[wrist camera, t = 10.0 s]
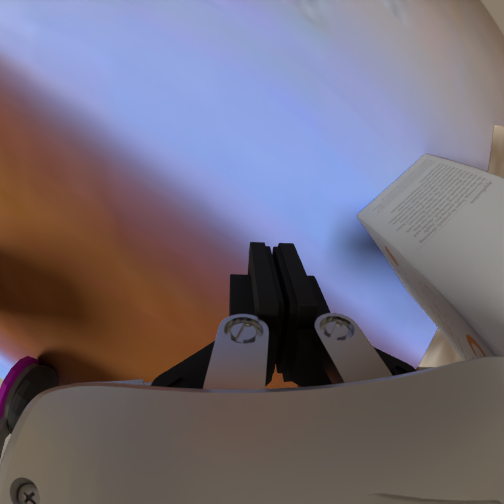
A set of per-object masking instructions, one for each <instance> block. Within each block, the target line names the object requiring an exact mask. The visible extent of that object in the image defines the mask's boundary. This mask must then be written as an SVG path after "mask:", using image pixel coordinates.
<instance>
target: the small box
mask: <svg viewBox="0 0 504 504" xmlns="http://www.w3.org/2000/svg"><path fill="white" fill-rule="evenodd" d="M357 218H358V219H359V220H360V222H361V223H362V225H363V226H364V228H365V229H366V230H367V232H368V233H369V235H370V236H371V238H372V239H373V240H374V242H375V243H376V245H377V246H378V248H379V249H380V251H381V252H382V253H383V255H384V256H385V258H386V259H387V261H388V262H389V264H390V265H391V267H392V268H393V270H394V271H395V273H396V274H397V276H398V277H399V279H400V281H401V282H402V284H403V285H404V287H405V288H406V290H407V291H408V292H409V294H410V295H411V296H412V297H413V298H414V299H415V301H416V302H417V303H418V304H419V305H420V306H421V308H422V309H423V310H424V311H425V312H426V314H427V315H428V316H429V317H430V318H431V319H432V321H433V322H434V323H435V324H436V326H437V327H438V328H439V329H440V331H441V332H442V333H443V335H444V336H445V337H446V339H447V340H448V341H449V343H450V344H451V345H452V347H453V348H454V350H455V351H456V352H457V354H458V355H459V357H460V358H461V359H462V361H465V360H469V359H473V358H480V357H504V178H502V177H500V176H497V175H494V174H491V173H488V172H486V171H483V170H480V169H477V168H474V167H471V166H468V165H465V164H461V163H458V162H454V161H451V160H448V159H445V158H441V157H437V156H434V155H430V154H425V155H423V156H422V157H421V158H420V159H418V160H417V161H416V162H415V163H414V164H413V165H412V166H411V167H410V168H409V169H408V170H406V171H405V172H404V173H403V174H402V175H401V176H400V177H399V178H398V179H397V180H396V181H394V182H393V183H392V184H391V185H390V186H389V187H388V188H386V189H385V190H384V191H383V192H382V193H381V194H380V195H378V196H377V197H376V198H375V199H374V200H373V201H372V202H371V203H369V204H368V205H367V206H366V207H365V208H364V209H363V210H362V211H360V212H359V213H358V215H357Z"/></svg>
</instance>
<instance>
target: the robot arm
mask: <svg viewBox="0 0 504 504" xmlns="http://www.w3.org/2000/svg"><path fill="white" fill-rule="evenodd" d="M275 364H276V368H277V372H278V373H283V379H284V382H289V381H292V382H294V383H296V384H297V385H298V386H297V388H278V389H265V386H266V385H267V384H268V383H270V382H271V380H272V375H273V373H274V369H275ZM0 504H504V357H480V358H473V359H469V360H465V361H460V362H456V363H452V364H447V365H443V366H439V367H417V369H416V370H415V369H414V368H413V367H412V366H410V365H409V364H407V363H405V362H403V361H401V360H399V359H397V358H395V357H393V356H391V355H389V354H387V353H385V352H383V351H381V350H379V349H377V348H374V347H373V346H372V345H371V343H370V342H369V340H368V339H367V337H366V336H365V335H364V333H363V332H362V330H361V329H360V328H359V326H358V325H357V324H356V323H355V321H354V320H352V319H351V318H349V317H348V316H345V315H342V314H338V313H330V310H329V308H328V306H327V303H326V301H325V299H324V297H323V294H322V292H321V290H320V287H319V285H318V283H317V281H316V278H315V277H314V276H307V275H306V272H305V270H304V268H303V265H302V263H301V260H300V258H299V256H298V253H297V251H296V248H295V246H294V244H292V243H279V245H278V247H273V254H272V253H271V249H270V246H265V243H260V242H250V249H249V264H248V275H236V274H230V305H229V317H227V318H225V319H224V320H223V321H222V322H221V324H220V326H219V328H218V332H217V336H216V340H215V341H214V342H212V343H211V344H209V345H208V346H206V347H205V348H203V349H201V350H200V351H198V352H197V353H195V354H193V355H192V356H190V357H189V358H187V359H185V360H184V361H182V362H181V363H179V364H177V365H176V366H174V367H172V368H171V369H169V370H168V371H166V372H164V373H163V374H161V375H159V376H158V377H157V378H156V379H154V381H153V382H148V383H144V381H143V379H141V380H128V381H110V382H86V383H75V384H69V385H62V386H58V387H54V388H51V389H48V390H45V391H43V392H41V393H40V394H38V395H37V396H36V397H34V398H33V399H32V400H31V401H30V403H29V404H28V405H27V406H26V408H25V409H24V411H23V412H22V414H21V416H20V418H19V420H18V421H17V423H16V425H15V427H14V430H13V432H12V434H11V436H10V439H9V441H8V444H7V447H6V450H5V452H4V455H3V458H2V461H1V464H0Z"/></svg>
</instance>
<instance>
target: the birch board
mask: <svg viewBox="0 0 504 504" xmlns="http://www.w3.org/2000/svg"><path fill="white" fill-rule="evenodd" d="M488 173H491V174H494V175H497V176H500V177H502V178H504V127H503V126H498V125H494V129H493V139H492V148H491V156H490V162H489V169H488ZM460 361H462V359H461V358H460V357H459V355H458V354H457V352H456V351H455V350H454V348H453V347H452V345H451V344H450V343H449V341H448V340H447V339H446V337H445V336H444V335H443V333H442V332H441V331H440V329H439V328H438V329H437V331H436V333H435V335H434V337H433V339H432V341H431V343H430V345H429V347H428V349H427V351H426V353H425V355H424V357H423V359H422V360H421V362H420V364H419V366H418V367H439V366H443V365H447V364H452V363H456V362H460Z"/></svg>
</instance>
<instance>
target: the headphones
mask: <svg viewBox="0 0 504 504" xmlns="http://www.w3.org/2000/svg"><path fill="white" fill-rule="evenodd" d="M58 386H59V381H58V376H57V374H56V371H55V370H54V369H52V368H51V367H48V366H45V365H39V361H38V360H37V359H35V358H32V357H29V356H27V357H25V358H22V359H20V360H19V361H18V362H17V363H16V364H15V365H14V366H13V367H12V368H11V370H10V371H9V373H8V374H7V376H6V378H5V379H4V381H3V383H2V385H1V388H0V457H1V453H2V449H3V446H4V442H5V439H6V437H7V436H8V435H9V434H12V432H13V430H14V427H15V425H16V423H17V421H18V420H19V418H20V416H21V414H22V412H23V411H24V409H25V408H26V406H27V405H28V404H29V403H30V401H31V400H32V399H33V398H34V397H36V396H37V395H38V394H40V393H41V392H43V391H45V390H48V389H51V388H54V387H58Z"/></svg>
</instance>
